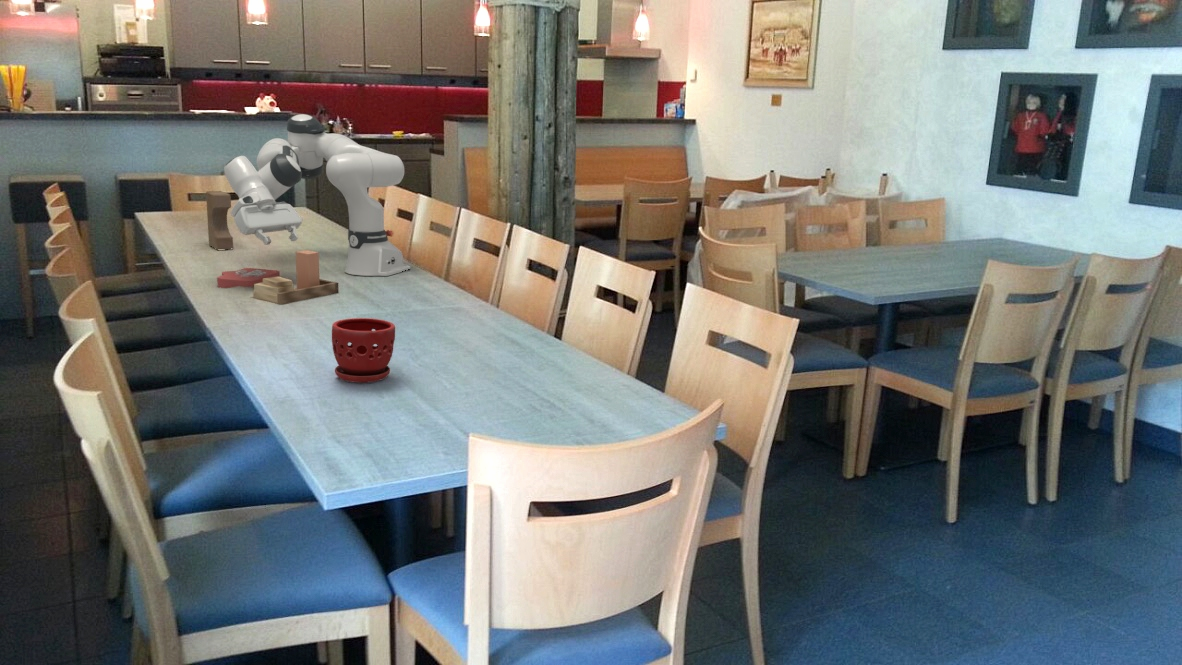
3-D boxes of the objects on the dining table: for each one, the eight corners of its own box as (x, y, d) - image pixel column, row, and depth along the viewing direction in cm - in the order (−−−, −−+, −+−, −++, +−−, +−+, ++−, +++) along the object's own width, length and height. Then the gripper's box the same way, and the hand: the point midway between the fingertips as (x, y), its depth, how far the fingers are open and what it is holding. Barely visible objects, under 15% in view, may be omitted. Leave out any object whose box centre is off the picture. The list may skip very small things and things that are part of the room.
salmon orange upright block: (308, 290, 276) (306, 250, 273) (319, 293, 273) (318, 252, 270) (297, 292, 272) (295, 251, 269) (309, 295, 270) (307, 254, 267)
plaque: (237, 265, 295) (281, 268, 293) (238, 276, 296) (282, 280, 294) (205, 275, 278) (251, 279, 276) (206, 287, 279) (252, 292, 277)
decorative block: (233, 249, 338) (230, 194, 333) (217, 250, 335) (214, 194, 329) (224, 245, 346) (222, 190, 341) (208, 245, 343) (205, 191, 338)
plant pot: (381, 389, 195) (380, 333, 192) (322, 383, 197) (320, 327, 194) (404, 371, 207) (404, 319, 204) (348, 365, 209) (347, 313, 206)
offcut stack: (273, 293, 270) (273, 274, 268) (299, 299, 264) (299, 280, 263) (252, 297, 264) (251, 278, 262) (278, 303, 258) (278, 284, 257)
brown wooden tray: (308, 289, 282) (307, 276, 281) (338, 296, 275) (338, 282, 274) (249, 300, 264) (249, 286, 263) (280, 308, 258) (280, 293, 257)
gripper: (283, 207, 286) (305, 244, 284) (225, 213, 270) (248, 252, 267) (292, 194, 283) (315, 231, 280) (234, 199, 266) (257, 238, 264)
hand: (281, 241), depth 273 cm, fingers open, 8 cm apart
